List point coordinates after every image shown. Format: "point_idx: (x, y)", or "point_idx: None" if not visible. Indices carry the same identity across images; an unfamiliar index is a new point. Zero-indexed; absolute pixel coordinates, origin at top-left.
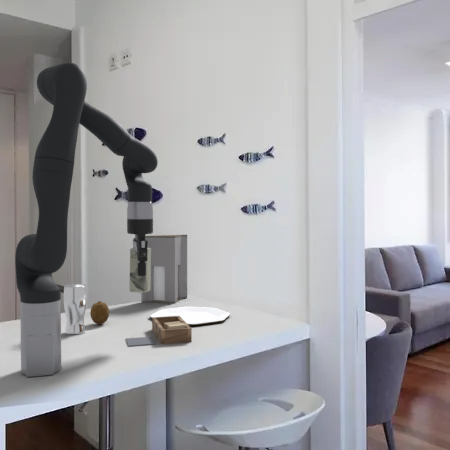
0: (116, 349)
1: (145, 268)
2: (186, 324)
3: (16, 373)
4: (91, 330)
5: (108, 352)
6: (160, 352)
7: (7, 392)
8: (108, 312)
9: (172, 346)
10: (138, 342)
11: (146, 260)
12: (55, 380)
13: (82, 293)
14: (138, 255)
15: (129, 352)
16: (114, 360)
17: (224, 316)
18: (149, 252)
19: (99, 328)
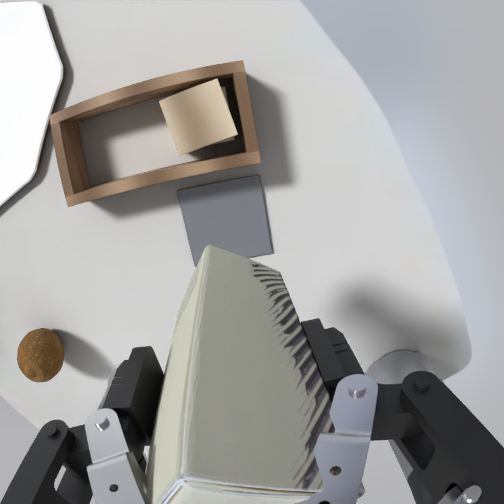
0: (292, 278)
1: (333, 347)
2: (182, 75)
3: None
4: (107, 351)
5: (314, 293)
6: (339, 164)
7: (450, 374)
8: (37, 336)
9: (285, 128)
10: (243, 227)
11: (427, 377)
12: (438, 340)
13: None
14: (421, 454)
15: (325, 244)
16: (377, 271)
17: (6, 9)
18: (243, 443)
19: (86, 336)
